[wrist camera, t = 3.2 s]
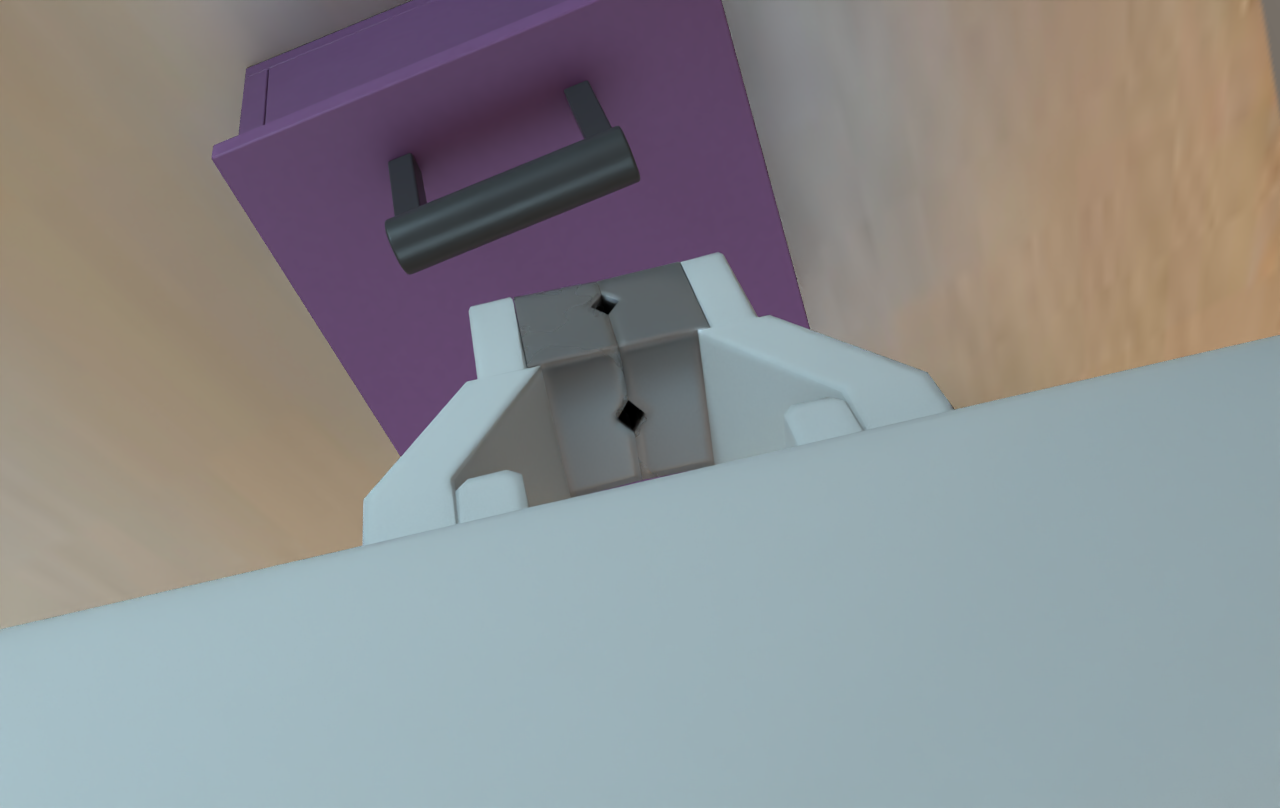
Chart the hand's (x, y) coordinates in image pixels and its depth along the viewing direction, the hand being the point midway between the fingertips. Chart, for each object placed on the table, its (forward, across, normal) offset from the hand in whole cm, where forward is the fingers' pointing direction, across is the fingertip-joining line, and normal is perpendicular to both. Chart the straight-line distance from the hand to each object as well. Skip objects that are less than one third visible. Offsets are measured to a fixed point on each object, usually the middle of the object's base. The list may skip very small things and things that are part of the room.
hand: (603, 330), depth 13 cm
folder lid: (+19, 0, +11) cm, 22 cm away
